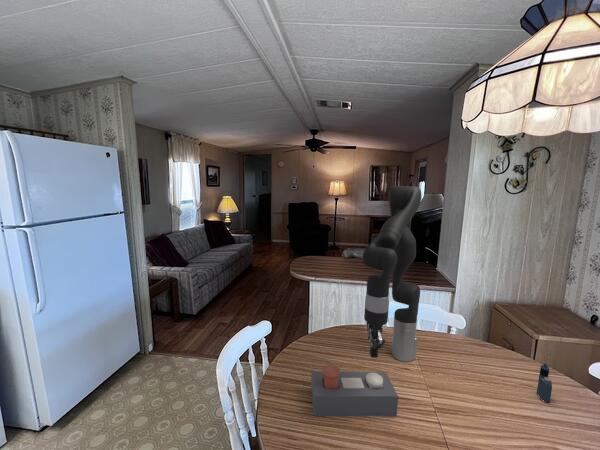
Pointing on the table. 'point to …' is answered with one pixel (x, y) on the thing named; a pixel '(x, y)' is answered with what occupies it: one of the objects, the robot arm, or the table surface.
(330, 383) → the red plunger
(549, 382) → the vaping device
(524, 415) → the table surface
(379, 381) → the white plunger
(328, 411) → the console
